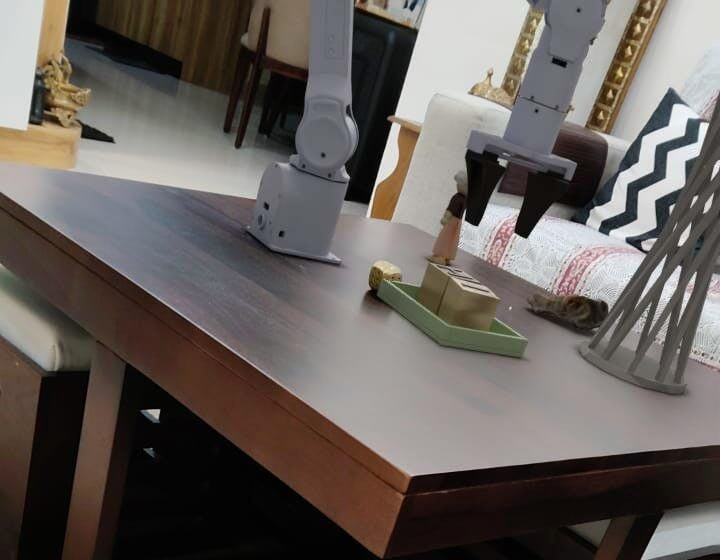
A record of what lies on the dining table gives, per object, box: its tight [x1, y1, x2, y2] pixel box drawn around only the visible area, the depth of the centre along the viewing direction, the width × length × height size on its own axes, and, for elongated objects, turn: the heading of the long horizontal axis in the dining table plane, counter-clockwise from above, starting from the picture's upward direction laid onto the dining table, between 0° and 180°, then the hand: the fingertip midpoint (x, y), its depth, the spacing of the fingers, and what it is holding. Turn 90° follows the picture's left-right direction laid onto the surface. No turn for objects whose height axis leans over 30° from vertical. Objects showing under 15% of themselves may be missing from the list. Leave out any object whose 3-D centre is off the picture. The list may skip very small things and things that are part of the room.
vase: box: [578, 90, 720, 395], centre depth 112 cm, size 14×13×35 cm
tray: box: [376, 278, 530, 358], centre depth 110 cm, size 11×14×2 cm
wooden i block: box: [437, 277, 501, 332], centre depth 108 cm, size 4×4×5 cm
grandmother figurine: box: [427, 167, 468, 266], centre depth 138 cm, size 8×4×13 cm, turn 168°
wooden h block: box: [416, 262, 482, 316], centre depth 111 cm, size 4×4×5 cm
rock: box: [526, 292, 610, 331], centre depth 131 cm, size 9×6×10 cm
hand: (496, 229), depth 116 cm, fingers open, 7 cm apart
